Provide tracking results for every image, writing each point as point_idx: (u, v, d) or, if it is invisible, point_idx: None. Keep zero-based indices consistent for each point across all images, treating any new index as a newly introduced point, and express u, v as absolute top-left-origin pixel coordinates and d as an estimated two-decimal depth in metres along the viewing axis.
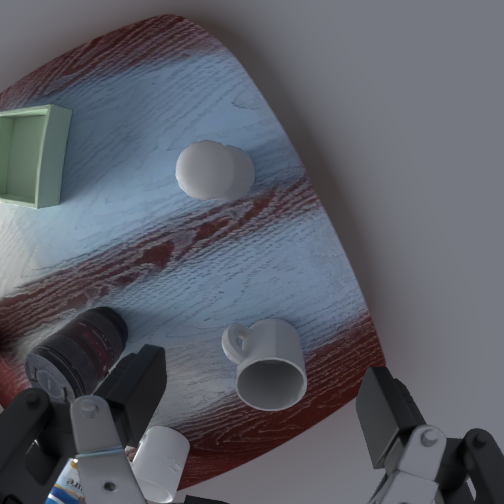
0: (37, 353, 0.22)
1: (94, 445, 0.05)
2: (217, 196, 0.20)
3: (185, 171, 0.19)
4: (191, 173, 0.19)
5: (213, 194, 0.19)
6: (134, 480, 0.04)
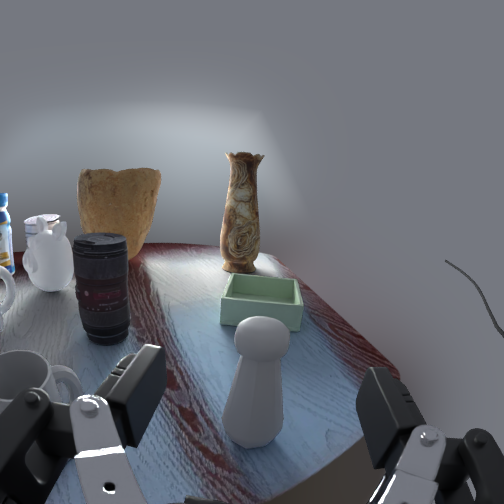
0: (125, 241, 0.37)
1: (94, 445, 0.05)
2: (239, 338, 0.21)
3: (260, 317, 0.23)
4: (259, 319, 0.23)
5: (242, 331, 0.21)
6: (134, 480, 0.04)
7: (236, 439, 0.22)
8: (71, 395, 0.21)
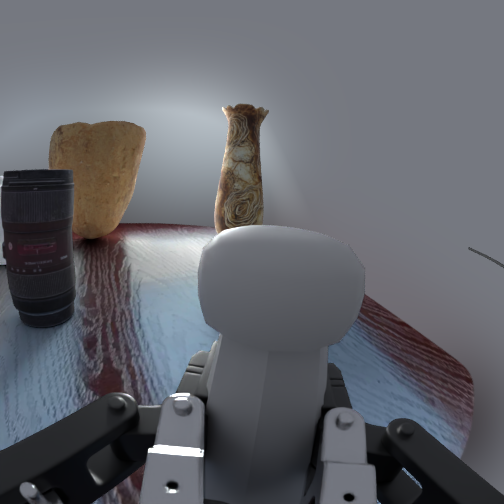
0: (69, 172, 0.23)
1: (174, 442, 0.06)
2: (208, 267, 0.06)
3: (275, 226, 0.08)
4: (272, 226, 0.08)
5: (217, 246, 0.07)
6: (200, 486, 0.04)
7: None
8: None
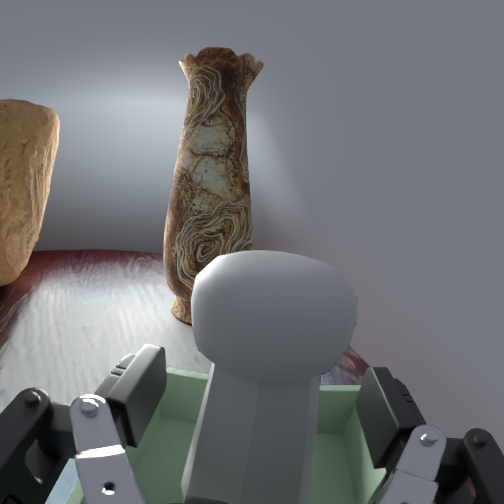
0: None
1: (94, 445, 0.05)
2: (200, 300, 0.06)
3: (268, 251, 0.08)
4: (265, 253, 0.08)
5: (209, 278, 0.07)
6: (134, 480, 0.04)
7: None
8: None
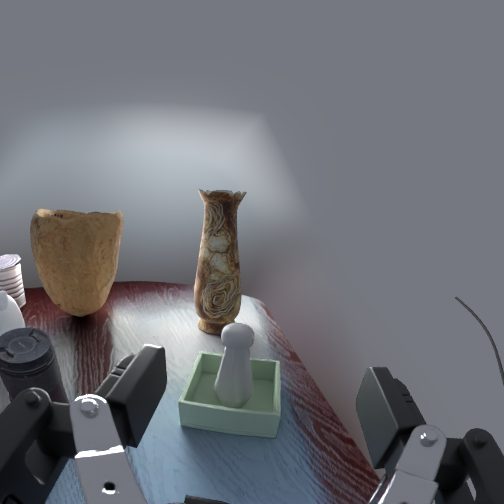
0: (48, 351, 0.24)
1: (94, 445, 0.05)
2: (223, 335, 0.37)
3: (237, 323, 0.39)
4: (236, 325, 0.38)
5: (225, 331, 0.37)
6: (134, 480, 0.04)
7: (222, 400, 0.38)
8: None
